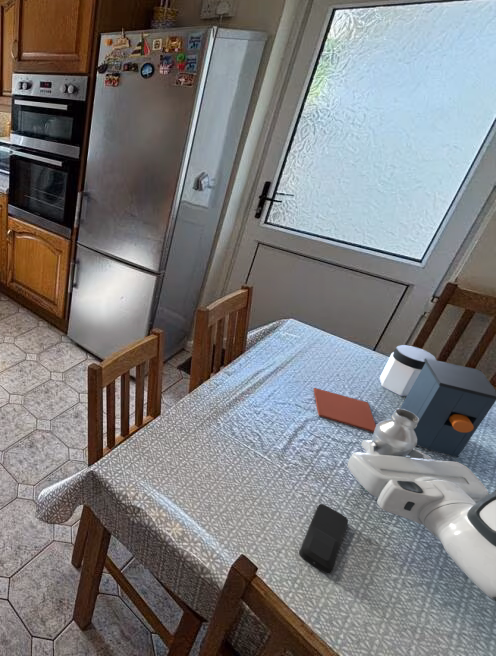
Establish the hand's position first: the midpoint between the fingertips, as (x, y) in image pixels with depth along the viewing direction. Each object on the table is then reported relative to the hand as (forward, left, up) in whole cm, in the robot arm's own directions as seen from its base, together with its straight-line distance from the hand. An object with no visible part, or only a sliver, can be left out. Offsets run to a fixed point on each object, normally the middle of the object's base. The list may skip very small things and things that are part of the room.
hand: (384, 443), depth 87 cm
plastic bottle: (0, +1, -11) cm, 11 cm away
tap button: (-17, -18, -3) cm, 24 cm away
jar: (-14, -43, -11) cm, 47 cm away
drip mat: (+1, -24, -11) cm, 27 cm away
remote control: (+10, +21, -11) cm, 26 cm away
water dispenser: (-15, -23, -11) cm, 30 cm away
